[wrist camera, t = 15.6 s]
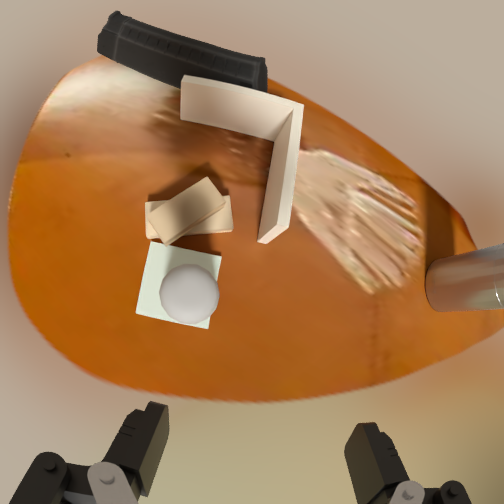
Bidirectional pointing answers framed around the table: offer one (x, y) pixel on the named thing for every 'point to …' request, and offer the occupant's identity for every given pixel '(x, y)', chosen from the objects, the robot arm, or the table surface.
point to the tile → (156, 270)
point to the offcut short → (186, 211)
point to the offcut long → (211, 225)
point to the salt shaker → (189, 293)
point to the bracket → (256, 124)
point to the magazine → (176, 55)
